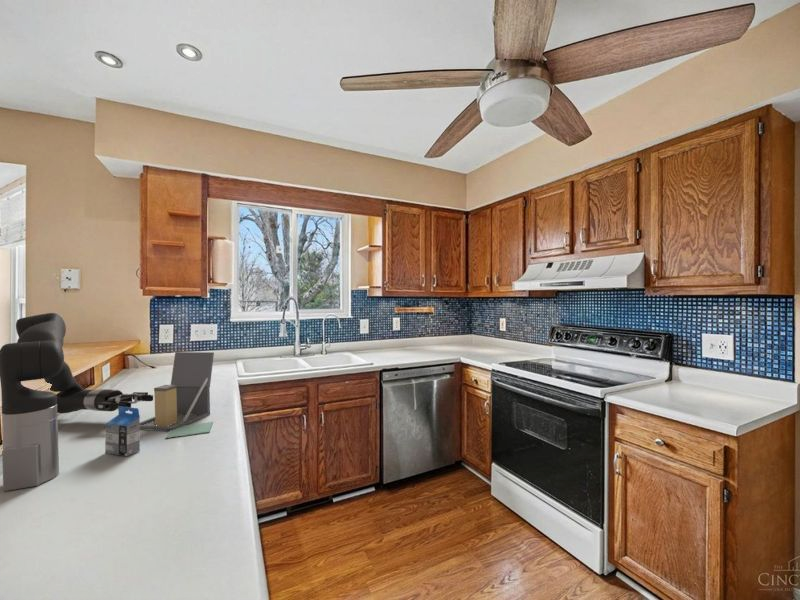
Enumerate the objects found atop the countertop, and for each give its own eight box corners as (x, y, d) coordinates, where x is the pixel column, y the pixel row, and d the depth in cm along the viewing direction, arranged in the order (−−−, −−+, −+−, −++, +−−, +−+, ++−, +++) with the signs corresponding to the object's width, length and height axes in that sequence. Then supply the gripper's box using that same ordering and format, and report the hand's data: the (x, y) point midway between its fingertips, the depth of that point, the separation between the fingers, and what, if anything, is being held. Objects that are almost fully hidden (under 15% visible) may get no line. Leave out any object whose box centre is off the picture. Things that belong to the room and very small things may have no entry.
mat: (209, 432, 114) (209, 431, 114) (165, 439, 109) (165, 437, 109) (213, 422, 123) (213, 421, 123) (172, 428, 118) (172, 427, 118)
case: (173, 431, 116) (171, 361, 116) (131, 428, 119) (129, 360, 119) (215, 411, 135) (214, 352, 135) (178, 410, 138) (176, 351, 138)
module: (166, 426, 120) (165, 388, 120) (155, 426, 121) (154, 388, 121) (177, 421, 125) (176, 385, 125) (166, 421, 126) (165, 384, 125)
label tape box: (104, 453, 100) (103, 409, 100) (119, 447, 103) (118, 405, 103) (126, 457, 97) (125, 412, 97) (141, 451, 101) (140, 407, 101)
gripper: (82, 395, 121) (122, 396, 118) (122, 384, 135) (158, 385, 132) (83, 417, 121) (122, 418, 118) (123, 404, 135) (159, 406, 132)
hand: (141, 401), depth 125 cm, fingers open, 8 cm apart
